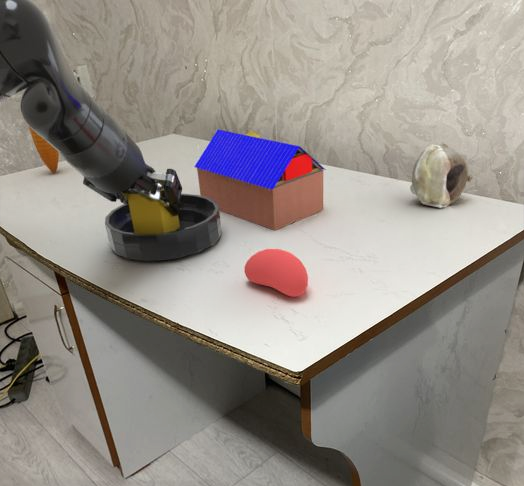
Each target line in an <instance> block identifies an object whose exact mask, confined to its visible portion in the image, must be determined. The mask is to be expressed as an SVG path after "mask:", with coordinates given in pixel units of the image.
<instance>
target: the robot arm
mask: <svg viewBox="0 0 524 486" xmlns="http://www.w3.org/2000/svg"><path fill="white" fill-rule="evenodd" d="M22 91H23V92H22ZM20 92H22V94H21V96H20V100H19V101H20V103H19V109H20V113H21V115H22V118H23V120H24V121H25V123H26V124H27V125H28V127H29V126H30V127H31V128H32V129H33V130H34V131H35V132H36V133H37V134H38V135H40V136H41V137H42V138H43V139H44V140H45V141H47V142H48V143H49V144H50V145H51V146H52V147H54V148H55V149H56V150H57V151H58V154H59V156H61V157H62V159H63V160H64V161H66V162H67V164H69V165H70V166H71V167H72V168H73V169H75V170H76V171H77V172H78V173H79V174H80V175H81V176H82V177H83V181H82V184H83V186H86V187H87V188H89V189H90V190H92V191H93V192H95V193H97V194H98V195H100V196H102V197H103V198H105V200H108V201H110V202H111V203H112V202H113V203H116V202H117V200H119V201H120V203H121V204H129V203H128V194H135V195H137V194H138V195H140V196H142V197H143V198H145V199H147V200H148V201H150V202H154V201H156V202H158V203H160V204H161V205H163V206H164V207H165V208H166V209H167V210H168V211H169V212H170V214H171V215H172V216H178V213H180V208H181V202H180V197H181V194H182V192H183V186H182V183H181V181H180V178H179V175H178V172H177V171H176V170H175V169H174V168H167V169H166V172H165V173H162V172H157V171H156V170H155V169H154V168H153V167H152V166H150V165H148V164H147V163H146V162H145V159H144V156H143V153H142V151H141V149H140V147H139V146H138V144H137V143H136V142H135V141H134V140H133V139H132V138H131V137H130V135H129V134H128V133H127V132H126V131H125V129H124V128H122V126H121V125H120V124H119V123H118V122H117V120H115V118H113V116H112V115H111V114H110V113H109V112H108V111H106V110H105V109H104V108H102V106H100V105H99V104H98V102H97V101H96V100H95V99H94V98H93V97H92V95H90V94H89V92H88V91H87V90H86V89H85V88H84V87H83V86H82V84H81V83H80V81H79V79H77V77H76V75H75V74H74V72H73V70H72V68H71V67H70V64H69V63H68V61H67V59H66V58H65V55H64V53H63V51H62V48H61V46H60V43H59V41H58V39H57V37H56V34H55V31H54V28H52V26H51V23H50V21H49V20H48V18H47V16H46V15H45V13H44V12H43V10H42V9H41V8H40V7H39V6H38V5H37V4H36V3H35V2H33V1H32V0H0V103H1V102H3V101H5V100H7V99H9V98H11V97H13V96H14V95H16V94H18V93H20ZM161 190H162V191H164V192H163V197H161V196H160V191H161ZM150 191H151V192H150ZM149 192H150V193H149Z"/></svg>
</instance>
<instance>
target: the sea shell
mask: <svg viewBox="0 0 524 486" xmlns="http://www.w3.org/2000/svg"><path fill="white" fill-rule="evenodd" d="M473 178H474V176H473V175H472V174H469V169H468V165H467V163H466V160H465V158H464V157H463V156H462V154H461V153H460V152H458V151H457V150H455V149H454V148H451V147H449V146H448V145H447V144H445V143H444V142H441V143H440V144H433V143H432V144H429V145H428V146H427V147H426V148H424V150H422V152H420V154H419V155H418V157H417V159H416V160H415V162H414V165H413V168H412V175H411V185H410V192H411V194H412V195H415V196H416V197H417V199H418V200H419V201H420V204H422V205H426V206H431V207H433V208H434V207H435V208H439V209H441V208H447V207H448V206H450V205H453V204H455V202H456V201H457V200H458V199H459V198H460V196H461V195H462V194H463V192H464V190H465V188H466V186H467V183H470V182H471V181H472V180H473Z"/></svg>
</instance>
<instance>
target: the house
mask: <svg viewBox="0 0 524 486" xmlns="http://www.w3.org/2000/svg"><path fill="white" fill-rule="evenodd" d="M194 168H196V171H197V178H198V186H199V193H200V196H203V197H207V198H210V199H212V200H213V201H215V202H217V205H218V207H219V212H223V213H226V214H228V215H231V216H234V217H236V218H240V219H242V220H245V221H248V222H251V223H253V224H256V225H259V226H262V227H264V228H268V229H271V230H273V231H277V230H279V229H281V228H284V227H286V226H288V225H291V224H293V223H295V222H297V221H300V220H303V219H305V218H308V217H310V216H312V215H315V214H317V213H319V212H322V211H324V171H326V170H327V169H326V168H324V166H323V165H322V164H320V163H319V162H318V161H317V160H316V159H315V158H313V157H312V156H311V155H310V154H309V153H308V152H307V151H306V150H304V149H303V148H302V147H301V145H300V146H299V145H295V144H290V143H285V142H280V141H276V140H272V139H266V138H262V137H261V138H257V137H252V136H247V135H245V134H241V133H238V132H237V133H236V132H232V131H228V130H222V129H217V130H216V132H215V133H214V135H213V137H212V138H211V139H210V141H209V143H208V144H207V145H206V147H205V149H204V151H203V152H202V154H201V155H200V157H199V158H198V160H197V162H196V163H195V164H194Z"/></svg>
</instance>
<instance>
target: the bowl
mask: <svg viewBox="0 0 524 486" xmlns="http://www.w3.org/2000/svg"><path fill="white" fill-rule="evenodd" d="M180 202H181V208H180V213H178V218H179V225H180V230H176V231H170V232H163V233H150V234H137V233H135V232H134V227H133V222H132V217H131V213H130V208H129V204H124V203H122V204H120V205H119V206H117V207H115V208H114V209H112V210H110V212H109V213H108V214H107V215H106V216H105V217H104V226H105V230H106V234H107V238H108V242H109V247H110V249H111V251H113V252H114V253H115V254H116V255H118V256H121V257H123V258H125V259H129V260H137V261H141V262H143V261H144V262H145V261H146V262H147V261H149V262H150V261H151V262H154V261H157V262H158V261H168V260H173V259H179V258H184V257H187V256H190V255H193V254H196V253H199V252H202V251H203V250H205V249H207V248H209V247H211V246H213V245H214V244H215V243H216V242H217V241H219V239H220V237H221V235H222V231H223V230H222V223H221V222H222V221H221V211H220V210H219V207H218V205H217V202H215V201H213V200H212V199H210V198H207V197H203V196H201V195H199V194H190V193H181V197H180Z"/></svg>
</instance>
